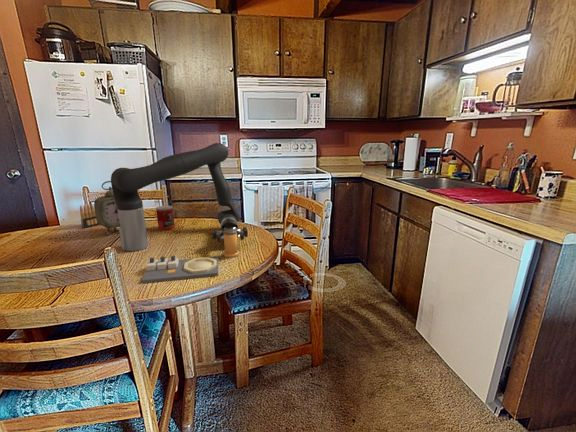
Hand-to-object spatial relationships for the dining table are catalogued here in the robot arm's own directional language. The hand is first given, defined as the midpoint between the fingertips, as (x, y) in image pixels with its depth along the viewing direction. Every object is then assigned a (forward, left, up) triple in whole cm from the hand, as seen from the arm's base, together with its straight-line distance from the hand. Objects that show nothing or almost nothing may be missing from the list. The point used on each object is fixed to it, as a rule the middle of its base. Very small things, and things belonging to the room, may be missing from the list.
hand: (230, 239), depth 117 cm
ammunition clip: (-69, +53, -6) cm, 88 cm away
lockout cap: (0, -2, -6) cm, 6 cm away
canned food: (-31, +40, -6) cm, 51 cm away
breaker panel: (-17, -12, -6) cm, 21 cm away
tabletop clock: (-54, +40, -6) cm, 68 cm away
